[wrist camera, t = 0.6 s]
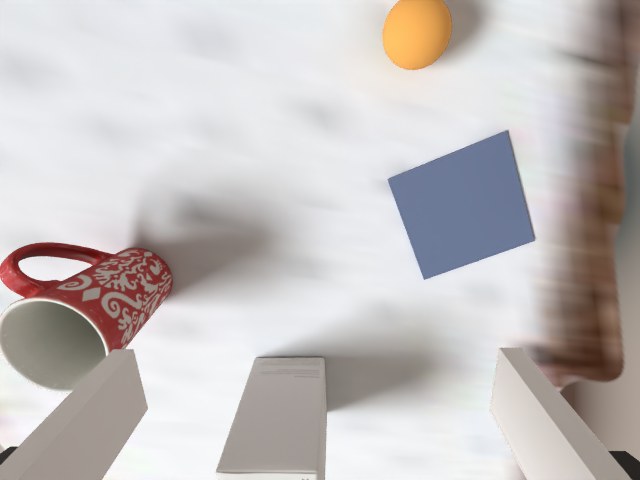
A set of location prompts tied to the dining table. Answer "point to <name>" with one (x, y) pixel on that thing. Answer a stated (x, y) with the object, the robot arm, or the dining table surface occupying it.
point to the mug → (77, 312)
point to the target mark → (463, 206)
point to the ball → (417, 32)
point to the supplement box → (279, 423)
